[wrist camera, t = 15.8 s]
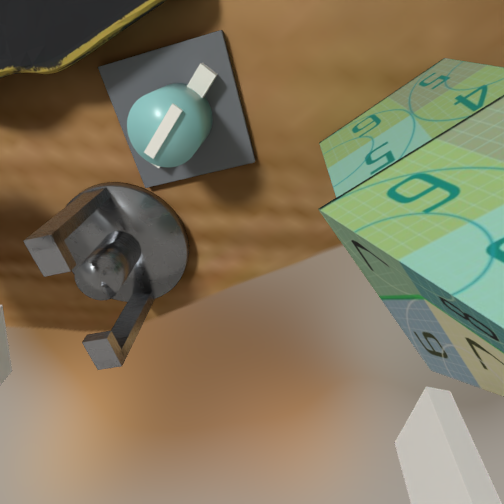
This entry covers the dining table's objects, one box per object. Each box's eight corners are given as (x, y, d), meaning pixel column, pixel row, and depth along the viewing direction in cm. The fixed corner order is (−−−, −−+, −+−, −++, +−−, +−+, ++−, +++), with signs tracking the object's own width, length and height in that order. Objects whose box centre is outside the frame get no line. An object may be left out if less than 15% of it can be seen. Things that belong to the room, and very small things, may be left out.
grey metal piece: (40, 198, 49) (-41, 252, 37) (162, 168, 46) (119, 217, 34) (96, 304, 56) (44, 379, 44) (205, 284, 53) (181, 358, 41)
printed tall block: (519, 187, 44) (869, 417, 18) (382, 259, 49) (494, 518, 23) (452, 42, 38) (834, 62, 12) (305, 143, 43) (337, 313, 17)
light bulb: (181, 46, 39) (161, 49, 32) (237, 89, 40) (228, 100, 34) (128, 142, 44) (101, 161, 37) (180, 177, 45) (163, 201, 39)
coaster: (100, 66, 41) (97, 67, 40) (222, 30, 39) (221, 30, 38) (147, 185, 47) (145, 187, 46) (255, 160, 44) (255, 162, 44)
